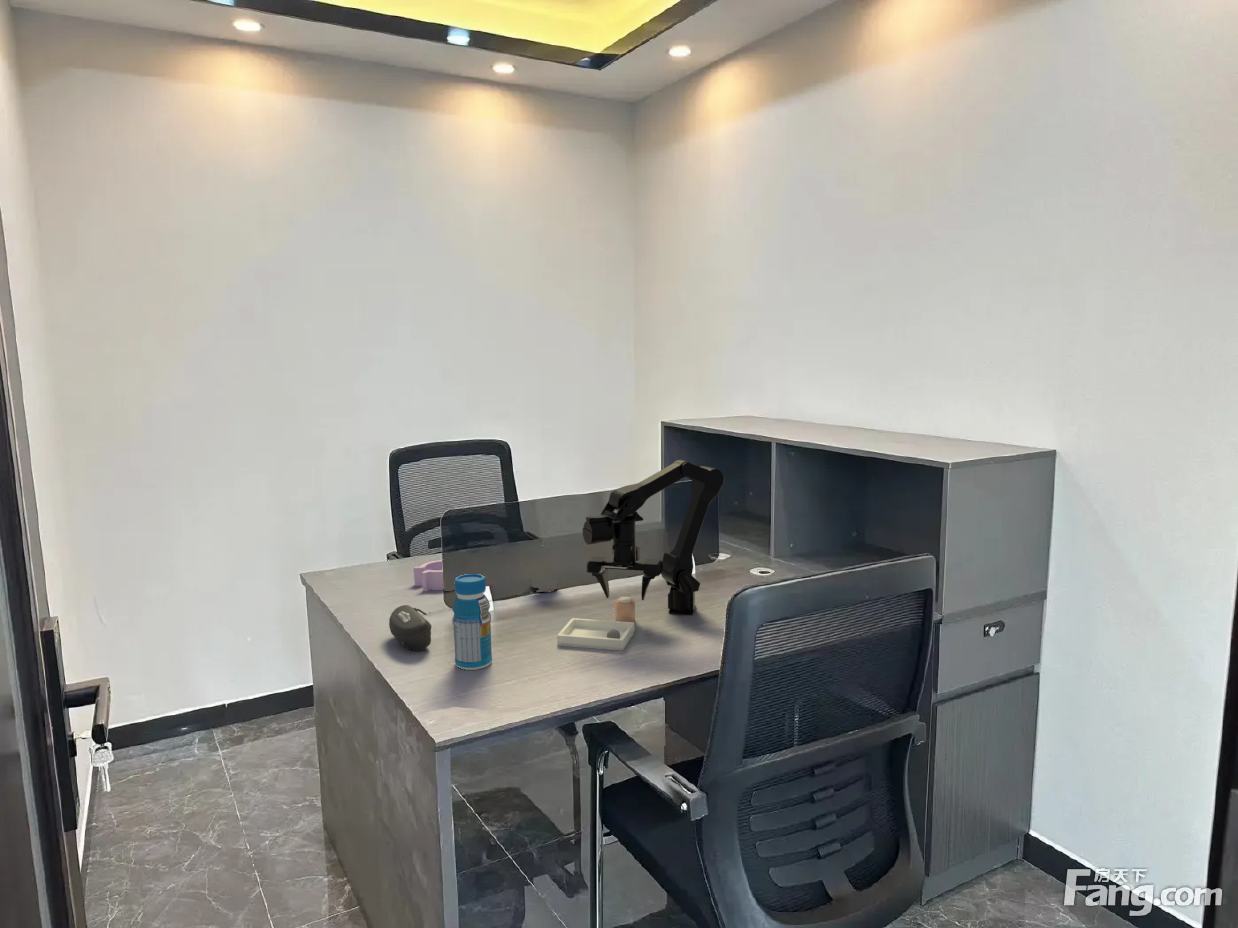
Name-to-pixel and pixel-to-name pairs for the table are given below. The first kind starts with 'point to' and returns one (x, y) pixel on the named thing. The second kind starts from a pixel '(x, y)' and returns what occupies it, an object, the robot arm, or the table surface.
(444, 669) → the table surface
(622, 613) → the cylinder
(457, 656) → the beverage bottle
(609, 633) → the ball
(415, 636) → the glasses case
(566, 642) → the tray
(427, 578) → the clip
